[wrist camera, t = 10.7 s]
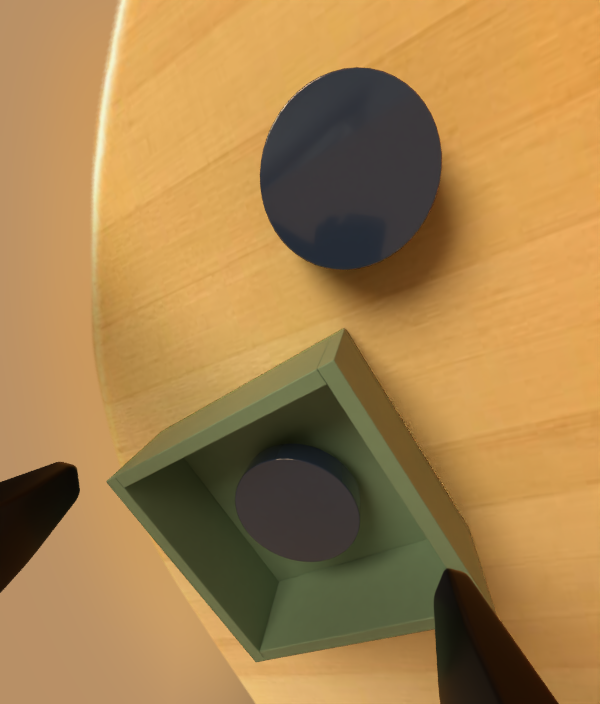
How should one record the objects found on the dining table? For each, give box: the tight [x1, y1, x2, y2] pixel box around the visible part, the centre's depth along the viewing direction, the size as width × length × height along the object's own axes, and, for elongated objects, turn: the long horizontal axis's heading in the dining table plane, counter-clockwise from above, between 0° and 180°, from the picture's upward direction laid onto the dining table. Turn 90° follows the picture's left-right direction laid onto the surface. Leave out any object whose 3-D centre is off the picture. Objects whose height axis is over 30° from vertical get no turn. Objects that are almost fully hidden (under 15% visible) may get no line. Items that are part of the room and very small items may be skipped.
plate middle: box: [260, 67, 442, 270], centre depth 14 cm, size 7×7×2 cm
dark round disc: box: [235, 443, 361, 562], centre depth 20 cm, size 7×7×2 cm
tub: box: [107, 328, 497, 662], centre depth 19 cm, size 15×15×5 cm
